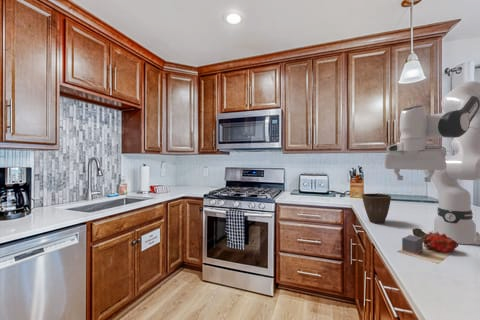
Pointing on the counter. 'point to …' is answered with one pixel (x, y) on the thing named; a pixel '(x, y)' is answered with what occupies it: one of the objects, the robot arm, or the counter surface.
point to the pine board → (428, 255)
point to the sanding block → (412, 244)
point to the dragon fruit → (439, 242)
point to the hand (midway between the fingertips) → (413, 181)
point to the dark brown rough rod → (418, 232)
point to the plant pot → (376, 207)
